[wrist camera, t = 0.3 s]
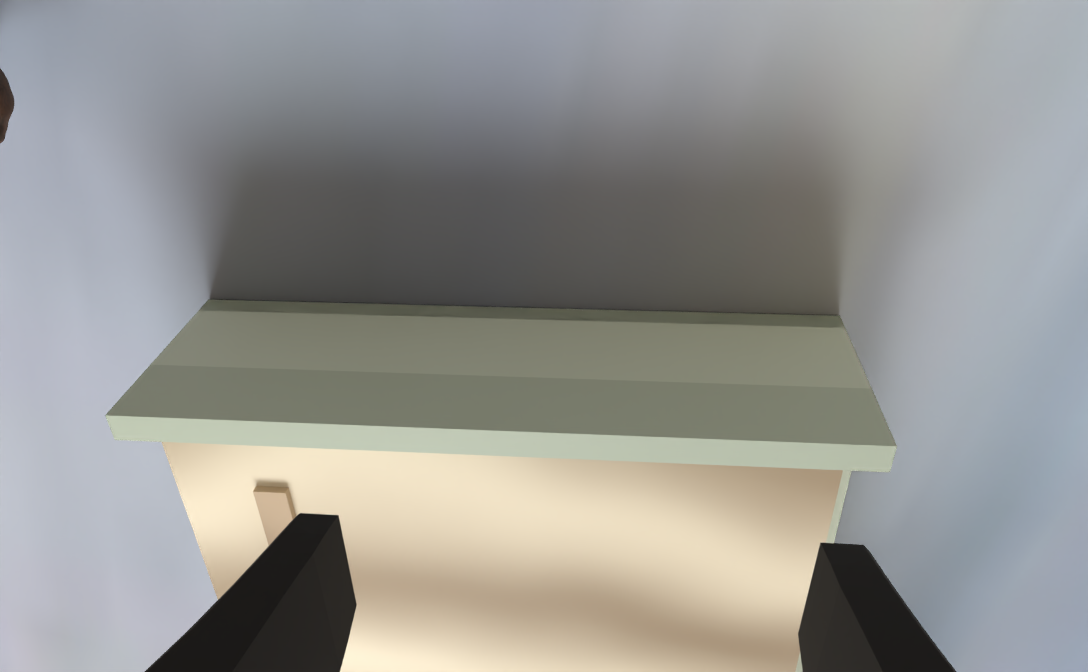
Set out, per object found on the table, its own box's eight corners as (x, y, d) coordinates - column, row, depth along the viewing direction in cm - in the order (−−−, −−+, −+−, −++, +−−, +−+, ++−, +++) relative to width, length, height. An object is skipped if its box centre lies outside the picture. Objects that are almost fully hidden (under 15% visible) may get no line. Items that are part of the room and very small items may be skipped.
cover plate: (767, 705, 24) (776, 763, 23) (280, 673, 26) (258, 725, 24) (827, 422, 19) (845, 474, 17) (192, 398, 20) (156, 445, 18)
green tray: (773, 639, 28) (800, 791, 23) (296, 610, 29) (237, 748, 25) (839, 315, 21) (897, 446, 16) (208, 299, 22) (104, 415, 18)
